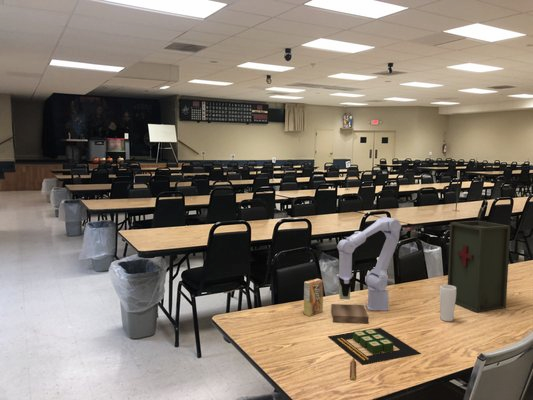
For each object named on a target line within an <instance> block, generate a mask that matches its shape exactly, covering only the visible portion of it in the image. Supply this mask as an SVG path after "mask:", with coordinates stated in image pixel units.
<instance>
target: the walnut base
mask: <svg viewBox="0 0 533 400" xmlns="http://www.w3.org/2000/svg"><path fill="white" fill-rule="evenodd" d="M330 305H331V306H330V312H331V316H332V321H333V323H344V324H369V315H368V311H367V310H366V308H365V304H347V303H346V304H345V303H343V304H341V303H331V304H330Z"/></svg>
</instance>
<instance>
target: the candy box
mask: <svg viewBox="0 0 533 400" xmlns="http://www.w3.org/2000/svg"><path fill="white" fill-rule="evenodd" d="M303 284H304V285H303V314H304V315H305V314H306V316H308V317H311V316H314V315H318V314H321V313H323V312H324V310H323V309H324V308H323V307H324V280H323V279H320V278H315V279H309V280H306V281H304V283H303Z"/></svg>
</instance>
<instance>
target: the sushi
mask: <svg viewBox="0 0 533 400" xmlns="http://www.w3.org/2000/svg"><path fill="white" fill-rule="evenodd" d="M327 338H328V339H330V340H331V341H332V342H333V343H335V344H336V345H337V346H339V348H341V349H342V350H343V351H344V352H345V353H347V354H348V355H349V356H351V357H352V359H353V358H354V360H355V361H357V362H358V363H359V364H360V365H362V366H365V365H370V364H376V363H381V362H386V361H391V360H395V359H396V360H397V359H400V358H401V359H402V358H406V357H412V356H417V355H421V354H422V353H421V351H418V350H416V349H415V348H413V347H412V346H411V345H409V344H407V343H405V342H404V341H402V340H401V339H399V338H397V337H396V336H394V335H393V334H391V333H389V332H388V331H386V330H385V329H383V328H382V327H378V328H369V329H364V330H357V331H352V332H346V333H341V334H340V333H339V334H334V335H328V336H327ZM348 340H349V341H350V340H352V341H354V342H356V343H357V344H359V346H361V347H362V348H363V349H365V350H366V351H367V352H369V353H370V354H369V355H366V353H364V352H362V351H361V350H360V349H359V348H357V347H356V346H355V345H353V344H352V343H351V342H349V341H348ZM394 347H396V348H397V350H396V349H395V350H394Z"/></svg>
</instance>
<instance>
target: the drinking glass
mask: <svg viewBox="0 0 533 400" xmlns="http://www.w3.org/2000/svg"><path fill="white" fill-rule="evenodd" d="M455 302H456V287H455V286H451V285H448V284H441V285H440V286H439V306H440V307H439V310H440V317H439V318H440V320H441V321H444V322H453V321H454V315H455V308H456V304H455Z"/></svg>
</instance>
